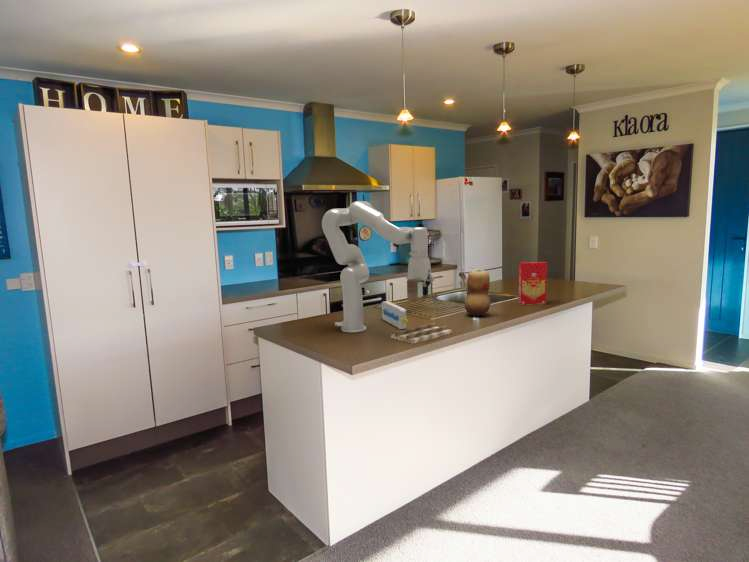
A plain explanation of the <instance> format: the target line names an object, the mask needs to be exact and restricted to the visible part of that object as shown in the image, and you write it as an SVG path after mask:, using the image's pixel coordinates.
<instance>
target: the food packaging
mask: <svg viewBox="0 0 749 562" xmlns="http://www.w3.org/2000/svg"><path fill="white" fill-rule="evenodd" d="M547 276H548V262H546V261H534V262H533V261H531V262H529V261H527V262H525V261H523V262H519V263H518V303H520V304H537V303H546V304H547V286H548V285H547V280H548V279H547Z"/></svg>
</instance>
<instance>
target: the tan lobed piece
mask: <svg viewBox="0 0 749 562" xmlns="http://www.w3.org/2000/svg"><path fill="white" fill-rule="evenodd" d="M490 278H491V277H490V273H489V272H488V271H486V270H484V269H481V268H479V269H472V270H470V271H469V273H468V275H467V281H466V288H467V289H466V290H467V294H466V297H465V300H464V309H465V311H466V313H468V314H469V316H470V315H471V316H472V315H476V316H477V317H478V316H483V315H485V314H486V313H487V312H488V311H489V310H490V308H491V299H490V296H489V290H490Z"/></svg>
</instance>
